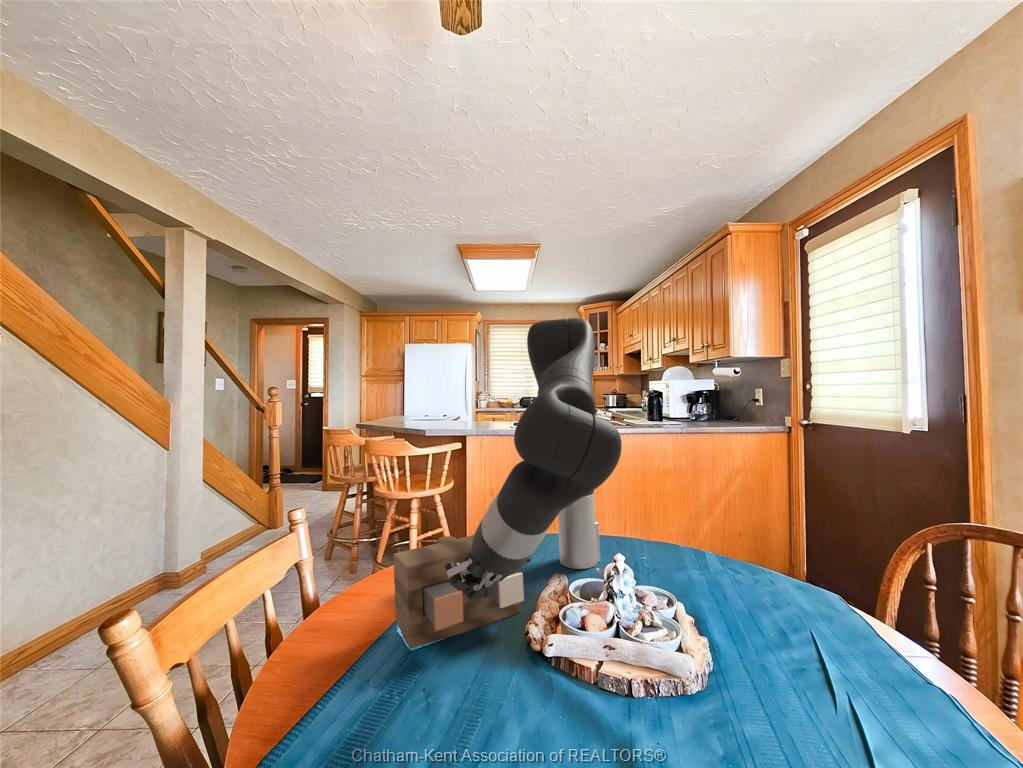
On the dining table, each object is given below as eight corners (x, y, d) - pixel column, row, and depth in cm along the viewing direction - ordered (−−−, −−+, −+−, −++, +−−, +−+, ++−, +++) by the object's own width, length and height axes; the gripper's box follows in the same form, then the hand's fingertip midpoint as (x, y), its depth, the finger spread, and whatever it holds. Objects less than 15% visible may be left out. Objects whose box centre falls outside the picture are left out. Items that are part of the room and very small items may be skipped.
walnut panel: (499, 596, 89) (497, 529, 90) (520, 612, 82) (517, 539, 83) (396, 630, 78) (393, 553, 78) (410, 652, 71) (407, 567, 71)
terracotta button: (443, 601, 78) (442, 574, 78) (463, 621, 70) (462, 591, 70) (417, 609, 75) (417, 581, 75) (436, 630, 68) (434, 600, 68)
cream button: (500, 583, 84) (499, 559, 84) (523, 600, 76) (522, 573, 77) (478, 590, 81) (477, 565, 81) (500, 608, 74) (499, 580, 74)
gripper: (541, 494, 58) (500, 557, 68) (452, 512, 51) (421, 580, 61) (567, 544, 54) (519, 604, 64) (474, 571, 47) (436, 633, 57)
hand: (471, 592), depth 62 cm, fingers closed
